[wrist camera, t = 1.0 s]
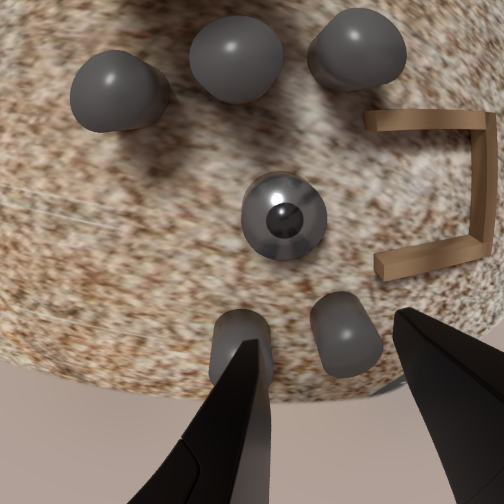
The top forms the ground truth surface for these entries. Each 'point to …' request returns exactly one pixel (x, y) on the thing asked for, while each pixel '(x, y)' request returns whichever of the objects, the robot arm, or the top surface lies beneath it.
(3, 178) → the top surface
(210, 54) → the spacers
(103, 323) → the top surface
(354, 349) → the spacers
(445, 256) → the corral
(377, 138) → the top surface
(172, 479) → the robot arm
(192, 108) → the top surface
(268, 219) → the grey metallic short cylinder
